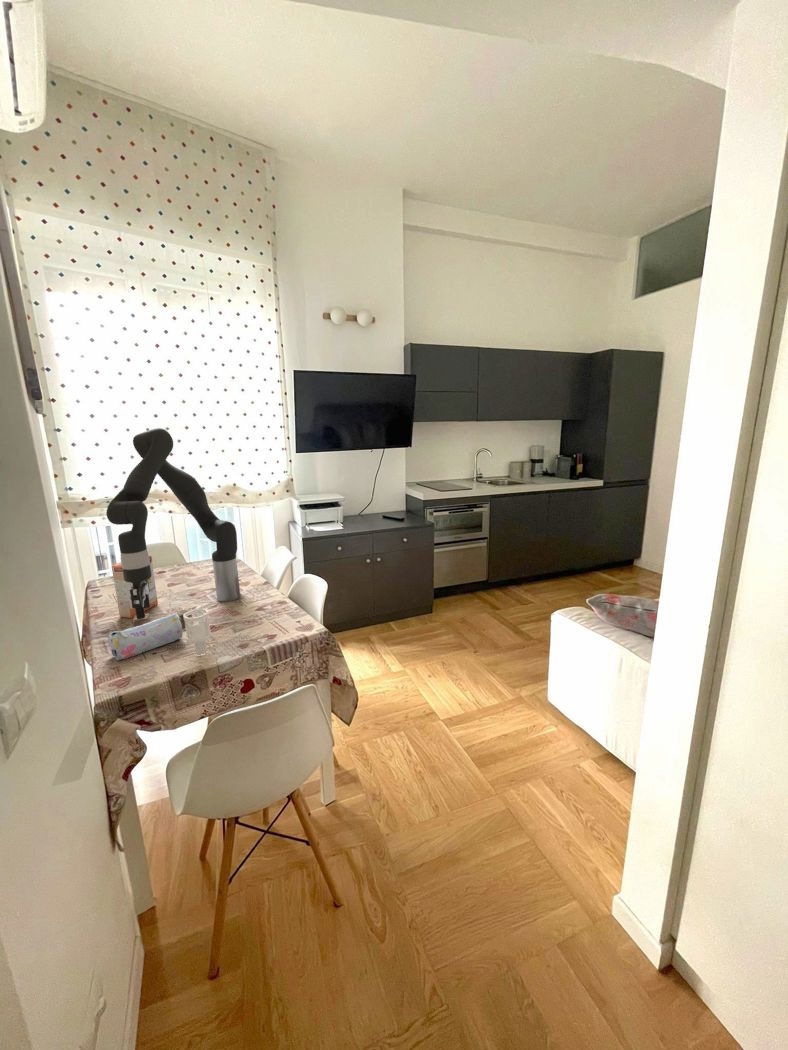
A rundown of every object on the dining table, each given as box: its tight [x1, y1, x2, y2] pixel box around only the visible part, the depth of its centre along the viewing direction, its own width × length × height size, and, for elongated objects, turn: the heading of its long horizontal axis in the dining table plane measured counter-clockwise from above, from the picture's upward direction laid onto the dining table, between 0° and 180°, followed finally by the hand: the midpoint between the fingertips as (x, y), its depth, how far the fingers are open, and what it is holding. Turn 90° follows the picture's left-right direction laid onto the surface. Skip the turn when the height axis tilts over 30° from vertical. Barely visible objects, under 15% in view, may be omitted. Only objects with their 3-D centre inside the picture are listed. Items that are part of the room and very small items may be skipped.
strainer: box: [183, 605, 212, 655], centre depth 134 cm, size 7×7×15 cm
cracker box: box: [111, 555, 159, 619], centre depth 167 cm, size 14×6×21 cm, turn 168°
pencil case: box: [107, 613, 183, 661], centre depth 139 cm, size 21×9×10 cm, turn 134°
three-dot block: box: [132, 612, 152, 627], centre depth 154 cm, size 4×4×5 cm
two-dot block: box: [176, 608, 193, 628], centre depth 157 cm, size 4×4×5 cm
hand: (143, 612), depth 137 cm, fingers open, 8 cm apart
